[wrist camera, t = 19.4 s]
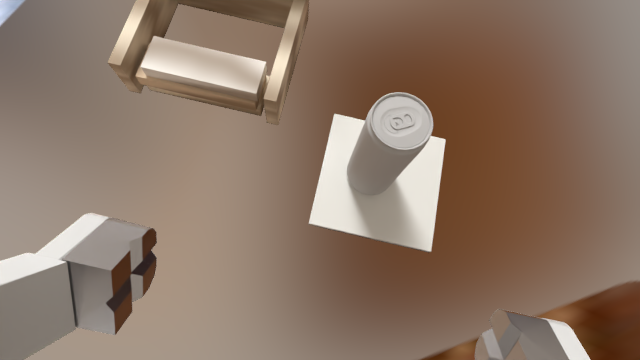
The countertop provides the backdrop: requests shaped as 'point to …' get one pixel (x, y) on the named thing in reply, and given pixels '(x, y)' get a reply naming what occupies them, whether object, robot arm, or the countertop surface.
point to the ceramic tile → (382, 209)
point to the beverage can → (389, 142)
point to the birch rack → (248, 3)
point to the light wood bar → (204, 75)
